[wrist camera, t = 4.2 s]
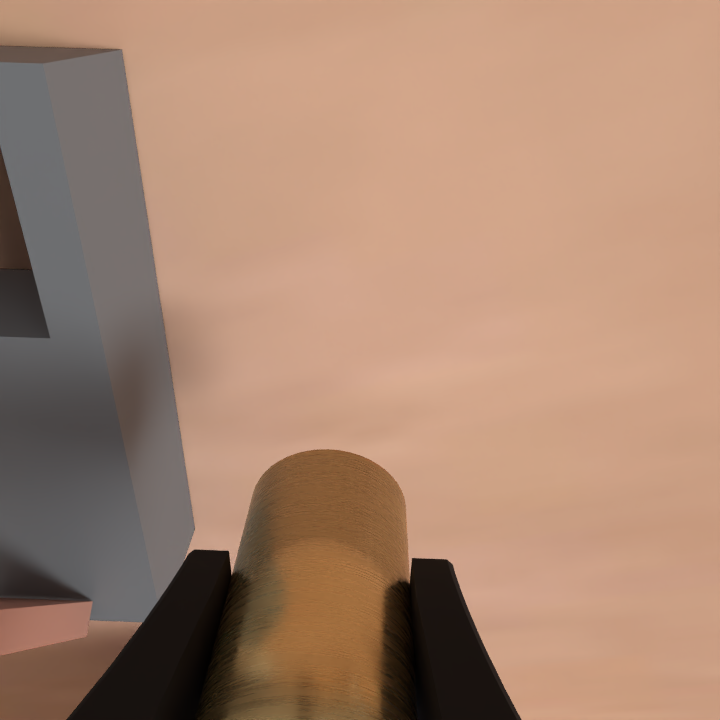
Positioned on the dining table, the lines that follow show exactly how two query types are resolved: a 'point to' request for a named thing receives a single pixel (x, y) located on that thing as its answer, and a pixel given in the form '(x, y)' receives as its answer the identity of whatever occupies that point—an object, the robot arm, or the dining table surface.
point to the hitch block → (84, 350)
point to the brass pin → (317, 599)
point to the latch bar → (41, 622)
